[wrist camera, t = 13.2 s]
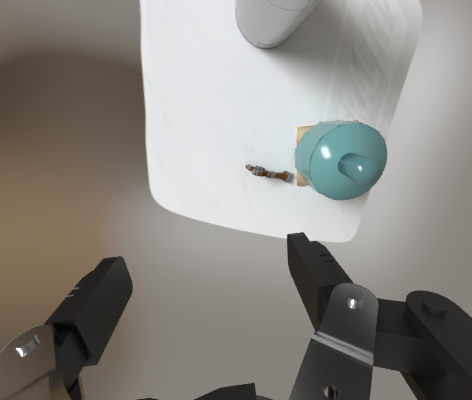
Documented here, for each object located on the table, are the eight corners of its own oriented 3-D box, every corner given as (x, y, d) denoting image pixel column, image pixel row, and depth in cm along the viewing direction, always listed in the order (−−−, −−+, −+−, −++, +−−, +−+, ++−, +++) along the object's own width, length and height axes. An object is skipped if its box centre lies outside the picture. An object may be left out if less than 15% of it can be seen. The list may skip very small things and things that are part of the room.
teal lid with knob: (295, 124, 39) (327, 131, 27) (361, 117, 39) (422, 120, 27) (295, 188, 43) (323, 218, 31) (355, 181, 43) (405, 208, 31)
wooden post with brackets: (243, 160, 40) (256, 168, 37) (277, 166, 44) (292, 174, 41) (240, 170, 41) (253, 178, 37) (274, 175, 45) (288, 183, 41)
